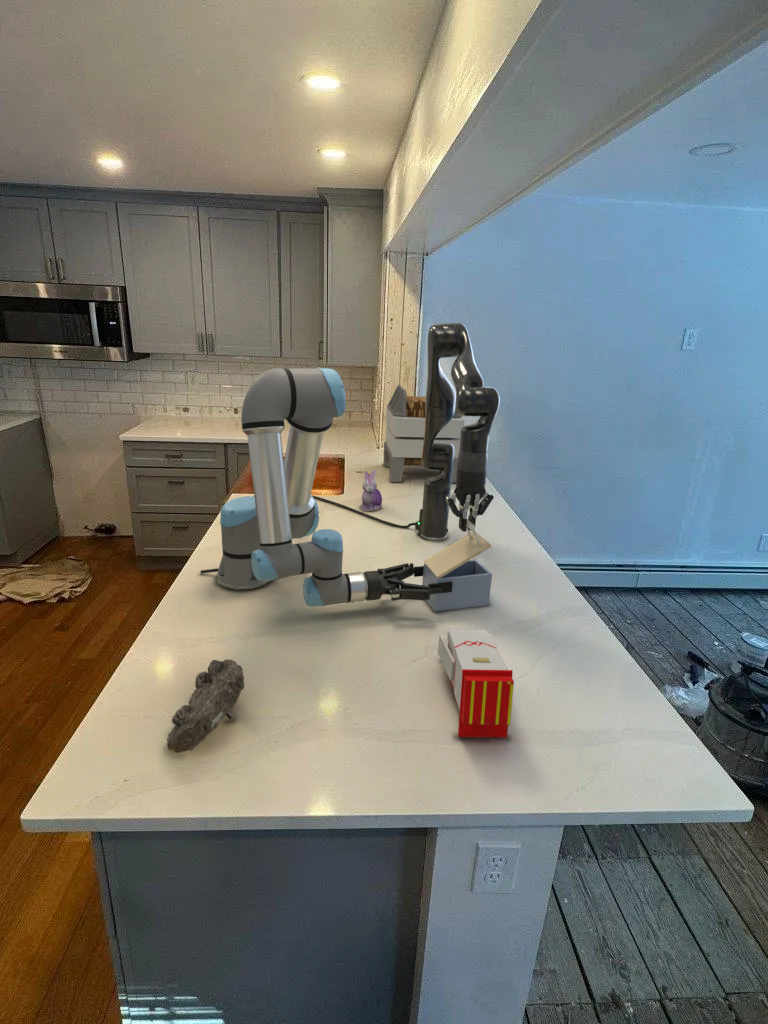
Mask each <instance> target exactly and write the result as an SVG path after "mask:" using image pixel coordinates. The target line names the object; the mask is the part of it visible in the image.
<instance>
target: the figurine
mask: <svg viewBox="0 0 768 1024" xmlns="http://www.w3.org/2000/svg"><path fill="white" fill-rule="evenodd" d="M363 474H364V475H363V476H364V481H363V483H362V490H363V492H362V495H361V502H362V503H361V506H360V507H361V509H362V511H365V512H366V511H367V512H372V511H378V510H380V509H381V508H382V503H383V496H382V493H381V491H380V490H379V489H378V488H377V487H378V485H377V482H376V479H375V478H376V474H377V470H375V469H374V470H372V472H371V473H370V474H369V472H368V471H367V470H365V471H364V473H363Z"/></svg>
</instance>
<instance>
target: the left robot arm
mask: <svg viewBox="0 0 768 1024" xmlns="http://www.w3.org/2000/svg"><path fill="white" fill-rule="evenodd" d="M346 399H347V397H346V391H345V387H344V383H343V380H342V377H341V376H340V374H339V373H338V372H337V371H336V370H335V369H332V368H325V367H322V368H321V367H315V368H314V367H313V368H306V367H305V368H303V367H302V368H301V367H300V368H282V367H277V368H276V367H275V368H271V369H268V370H266V371H264V372H262V373H261V374H260V375H258V376H257V377H256V378H255V379H254V381H253V382H252V383H251V384H250V386H249V388H248V389H247V392H246V393H245V396H244V399H243V402H242V407H241V415H240V416H241V418H240V423H241V430H242V433H244V434H245V435H246V436H247V444H248V453H249V460H250V461H249V463H250V470H251V477H252V478H251V479H252V487H253V496H250V495H247V496H240V497H236V498H233V499H230V500H228V501H226V503H224V504H223V505H222V507H221V508H220V518H219V519H220V520H219V524H220V530H221V531H220V535H221V545H222V546H221V548H222V555H221V559H220V563H219V566H218V568H212V569H211V568H209V569H201V570H200V574H210V573H216V572H217V573H216V574H217V575H216V578H217V583H218V585H220V586H221V587H222V588H225V589H229V590H234V591H249V590H254V589H258V588H261V587H263V586H266V585H267V584H269V583H270V582H271V581H273V580H274V581H278V580H279V579H286V578H290V577H294V576H300V575H306V574H311V576H306V577H305V578H304V579H303V583H302V593H303V599H304V602H305V604H306V606H308V607H327V606H334V605H339V604H349V603H352V604H354V603H356V602H364V601H365V600H366V601H367V602H368V601H370V602H371V601H377V600H380V599H381V598H382V596H383V595H387V596H388V595H389V596H390V599H391V601H401V600H402V601H403V600H404V601H408V600H409V601H426V600H430V595H431V594H439V593H448V592H452V586H453V582H443V583H433V584H428V586H424V585H422V584H416V583H409V582H405V581H404V580H406V579H408V578H410V577H412V576H413V577H414V578H418V577H423V569H424V565H419V566H414V565H415V564H414V563H412V562H410V563H408V562H405V563H401V564H397V565H394V566H393V565H392V566H389V567H385V568H377V569H376V570H367V571H364V572H362V571H357V572H349V573H343V557H344V542H343V535H342V534H341V533H340V532H339V531H337V530H335V529H331V528H321V529H318V526H319V521H320V516H319V514H320V510H319V505H318V502H317V501H316V500H317V499H315V498H313V496H314V495H313V496H312V489H313V486H314V482H315V481H314V480H315V476H316V472H317V466H318V461H319V457H320V452H321V447H322V442H323V438H324V433H325V432H327V431H329V430H330V429H331V427H332V425H333V421H334V418H339V417H341V416H343V415H344V413H345V411H346V406H347V400H346ZM285 421H286V422H287V424H288V425H289V430H288V436H287V441H286V442H287V443H286V448H285V453H284V449H283V441H282V432H284V430H285V429H286V426H285ZM310 536H311V538H310V541H304V542H297V543H293V541H292V540H294V539H296V540H297V539H302V538H304V537H310Z"/></svg>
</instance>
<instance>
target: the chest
mask: <svg viewBox="0 0 768 1024" xmlns="http://www.w3.org/2000/svg"><path fill="white" fill-rule="evenodd" d="M423 566H424V569H423V576H422V583H421V585H424V586H428V584H433V583H443V582H453V586H452V592H448V593H439V594H431V595H430V600H425V601H426V602H427V604H428V605H429V606H430V608H431V609H432V610H433V612H436V613H437V612H443V611H451V610H459V609H467V608H468V609H469V608H475V607H484V606H489V605H490V599H491V589H492V582H493V581H492V580H493V573H492V572H491V571H489V569H487V568H486V567H485V566H484V565H483V564H482V563H481V562H480V561H479V560H478V559H477V558H472V559H471V560H469V561H467V562H466V563H464V564H462V565H461V566H459V567H458V568H456V569H454V570H453V571H451V572H449V573H448V574H446V575H444V576H443V577H441V578H439V579H437V577H436V576H435V575H434V574H433V573H432V572H431V571H430V569H429V568H428V567H427V566H426V565H425V564H424V563H423Z"/></svg>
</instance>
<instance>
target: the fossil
mask: <svg viewBox="0 0 768 1024" xmlns="http://www.w3.org/2000/svg"><path fill="white" fill-rule="evenodd" d="M243 670H244V669H243V667H242V665H240V664H237V662H236V661H235V660H234V659H232V658H231V659H227V658H226V659H224V660H223V661H222V660H217V659H212V660H211V661H210V663H209V665H208V666H207V671H201V672H199V673H198V674H197V675H196V676H195V680H194V684H195V685H194V687H195V689H194V690H193V693H192V694H191V697H190V698H189V700H188V704H184V705H182V706H181V707H180V709H177V710H176V711H175V713H174V715H173V716H172V718H171V723H172V724H173V727H172V730H171V731H170V732H168V734H167V738H166V741H167V742H166V745H167V749H168V750H169V751H173V752H174V753H176V754H178V753H182V752H188V751H189V752H192V751H193V750H195V748H196V747H197V746H199V744H200V743H201V742H203V741H204V740H205V739H206V738H207V737H208V736H209V735H210V734H211V733H212V732H214V730H215V729H217V727H218V726H219V724H220V722H221V721H222V720H223V719H224V718H225V716H226V717H227V719H229V720H233V717H232V715H230V714H229V710H230V709H231V708H234V706H235V704H236V703H237V702H238V699H239V697H240V695H241V693H242V691H243V690H245V689H244V688H245V675H244V671H243Z"/></svg>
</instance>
